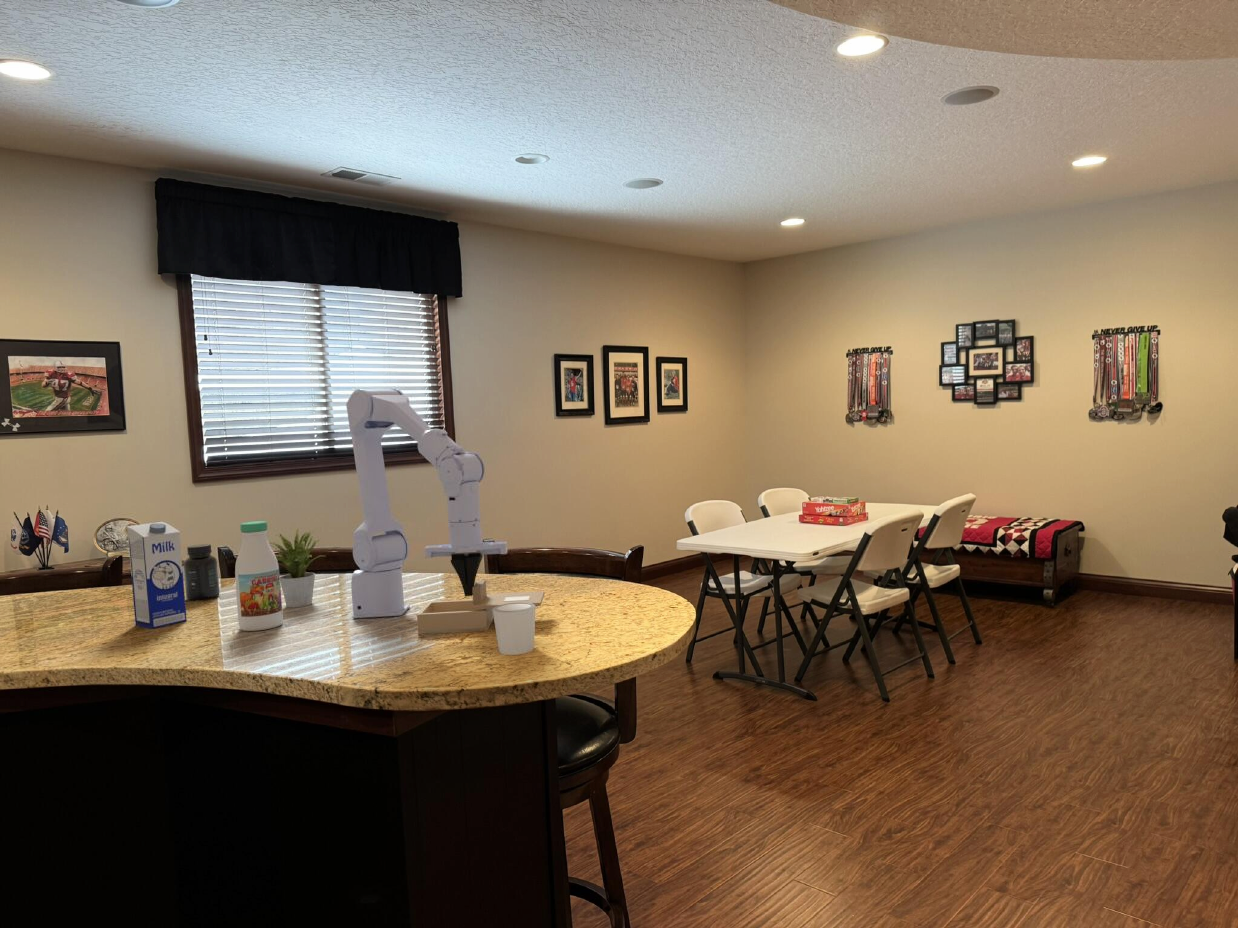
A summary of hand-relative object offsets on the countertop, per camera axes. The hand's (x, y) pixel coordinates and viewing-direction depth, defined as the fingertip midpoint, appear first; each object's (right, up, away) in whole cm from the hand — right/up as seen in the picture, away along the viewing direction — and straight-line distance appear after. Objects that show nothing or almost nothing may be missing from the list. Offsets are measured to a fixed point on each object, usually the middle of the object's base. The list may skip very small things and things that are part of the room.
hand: (469, 595), depth 151 cm
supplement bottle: (-68, -7, +39) cm, 78 cm away
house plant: (-41, -6, +27) cm, 50 cm away
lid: (+7, -1, 0) cm, 7 cm away
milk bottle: (-41, -7, +7) cm, 42 cm away
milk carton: (-64, -8, +15) cm, 66 cm away
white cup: (+11, -6, -17) cm, 21 cm away
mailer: (-2, -6, 0) cm, 6 cm away
